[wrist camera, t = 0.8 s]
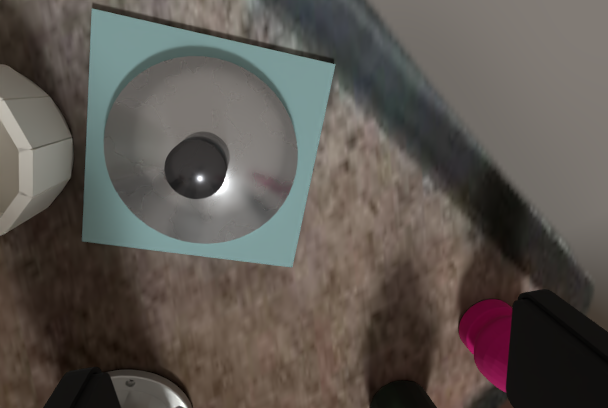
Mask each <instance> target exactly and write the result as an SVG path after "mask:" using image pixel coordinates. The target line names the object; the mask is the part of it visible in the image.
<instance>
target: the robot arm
mask: <svg viewBox="0 0 608 408" xmlns="http://www.w3.org/2000/svg"><path fill="white" fill-rule="evenodd" d="M506 393H507V397H508V399H509V401H510V403H511V404H512V406H513V407H514V408H608V332H607V331H606V330H604V329H603V328H602V327H600V326H599V325H597V324H596V323H595V322H593V321H592V320H590V319H589V318H588V317H586V316H585V315H584V314H582V313H581V312H579V311H578V310H577V309H575V308H574V307H572V306H571V305H570V304H568V303H567V302H566V301H564V300H563V299H561V298H560V297H559V296H557V295H556V294H555V293H553V292H552V291H550V290H547V289H542V290H537V291H531V292H525V293H522V294H520V295H519V297H518V300H517V301H515V302H514V303H513V308H512V319H511V331H510V343H509V354H508V366H507V378H506ZM43 408H192V406H191V403H190V401H189V399H188V398H187V396H186V395H185V393H184V392H183V391H182V390H181V389H180V388H179V387H178V386H177V385H175V384H174V383H172V382H171V381H169V380H168V379H166V378H164V377H161V376H159V375H157V374H154V373H150V372H146V371H140V370H131V369H130V370H115V371H110V372H103V373H102V371H101V369H100V368H98V367H91V368H85V369H79V370H73V371H69V372H67V373H66V374H65V375H64V376H63V377H62V379H61V381H60V382H59V384H58V385H57V387H56V388H55V390H54V392H53V393H52V395H51V396H50V398H49V399H48V401H47V403H46V404H45V406H44V407H43Z"/></svg>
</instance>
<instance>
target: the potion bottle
mask: <svg viewBox="0 0 608 408" xmlns="http://www.w3.org/2000/svg"><path fill="white" fill-rule="evenodd" d="M370 408H437V407H436V406H435V405H434V403H433V402H432V400H431V399H430V397H429V396H428V395H427V393H426V392H425V390H424V389H423V387H421V386H420V385H418V384H416V383H415V382H410V381H403V380H402V381H396V382H392V383H390V384H388V385H386V386H384V387H382V388H381V389H380V390H379V391H378V393H377V394H376V395H375V396H374V398H373V401H372V403H371V405H370Z"/></svg>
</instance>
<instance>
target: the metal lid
mask: <svg viewBox="0 0 608 408" xmlns="http://www.w3.org/2000/svg"><path fill="white" fill-rule="evenodd" d="M104 157H105V163H106V167H107V171H108V174H109V177H110V180H111V182H112V184H113V186H114V189H115V190H116V192H117V193H118V195H119V197H120V198H121V200H122V201H123V202H124V204H125V205H126V206H127V207H128V209H129V210H130V211H131V212H132V213H133V214H134V215H135V216H136V217H137V218H138V219H140V220H141V221H142V222H144V223H145V224H146V225H148V226H149V227H151V228H153V229H154V230H156V231H158V232H159V233H162V234H164V235H166V236H168V237H171V238H174V239H177V240H181V241H185V242H191V243H201V244H211V243H221V242H227V241H231V240H234V239H238V238H241V237H243V236H245V235H247V234H250V233H251V232H253V231H255V230H257V229H258V228H260V227H261V226H262V225H264V224H265V223H266V222H268V221H269V220H270V219H271V218H272V217H273V216H274V215H275V214H276V213H277V211H278V210H279V209H280V207H281V206H282V205H283V203H284V202H285V200H286V198H287V197H288V195H289V193H290V190H291V188H292V185H293V183H294V179H295V175H296V170H297V163H298V147H297V140H296V135H295V131H294V127H293V124H292V122H291V119H290V117H289V114H288V112H287V111H286V109H285V107H284V105H283V104H282V102H281V101H280V99H279V98H278V97H277V96H276V94H275V93H274V92H273V91H272V90H271V89H270V88H269V87H268V86H267V85H266V84H265V83H264V82H263V81H262V80H261V79H259V78H258V77H257V76H256V75H254V74H253V73H251V72H249V71H248V70H246V69H244V68H243V67H240V66H238V65H236V64H233V63H231V62H228V61H225V60H221V59H218V58H212V57H205V56H186V57H178V58H173V59H170V60H166V61H163V62H160V63H158V64H156V65H153V66H151V67H149V68H148V69H146V70H145V71H143V72H141V73H140V74H138V75H137V76H136V77H135V78H134V79H133V80H131V81H130V82H129V83H128V84H127V86H126V87H125V88H124V89H123V90H122V91H121V93H120V94H119V96H118V97H117V99H116V100H115V102H114V104H113V106H112V108H111V110H110V113H109V115H108V119H107V122H106V126H105V133H104Z"/></svg>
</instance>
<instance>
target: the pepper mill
mask: <svg viewBox="0 0 608 408" xmlns="http://www.w3.org/2000/svg"><path fill="white" fill-rule="evenodd" d="M511 319H512V307H511V306H509V305H508V304H507V303H506V302H504V301H501V300H497V299H488V300H484V301H481V302H478V303H476V304H475V305H473V306H472V307H471V308H469V309H468V310H467V312H466V313H465V314H464V315H463V317H462V319H461V321H460V325H459V335H460V338H461V340H462V342H463V343H464V344H465V346H466V347H467V348H468V349H469V350H470V352H471V353H472V354H474V360H475V363H476V366H477V367H478V369H479V371H480V372H481V373H482V374H483V375H484V376H485V377H486V378H487V379H488V380H489V381H490V382H491V383H492V384H493V385H495V386H496V387H498V388H499V389H500V390H502V391H504V392H506V378H507V366H508V354H509V343H510V331H511Z"/></svg>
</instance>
